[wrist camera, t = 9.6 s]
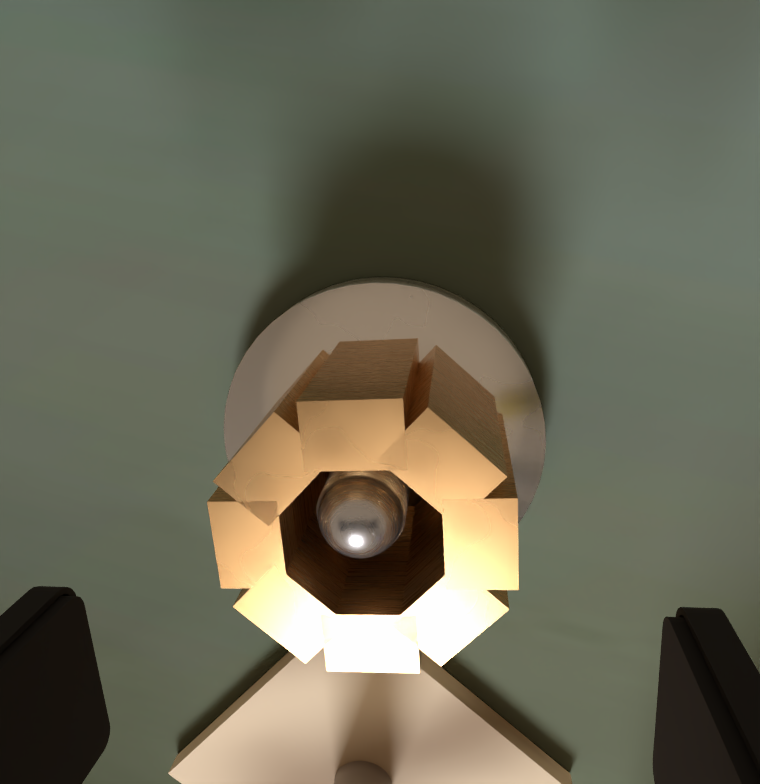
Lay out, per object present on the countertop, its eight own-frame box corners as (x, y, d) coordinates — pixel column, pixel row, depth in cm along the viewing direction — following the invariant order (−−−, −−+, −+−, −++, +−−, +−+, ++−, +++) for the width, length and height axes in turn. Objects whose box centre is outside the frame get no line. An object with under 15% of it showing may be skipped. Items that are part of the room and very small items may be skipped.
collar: (501, 334, 17) (516, 394, 12) (504, 551, 19) (518, 675, 14) (261, 345, 18) (191, 404, 13) (287, 552, 20) (234, 669, 15)
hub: (607, 426, 19) (674, 537, 13) (396, 612, 22) (373, 773, 16) (371, 206, 18) (329, 221, 12) (179, 433, 20) (69, 534, 15)
